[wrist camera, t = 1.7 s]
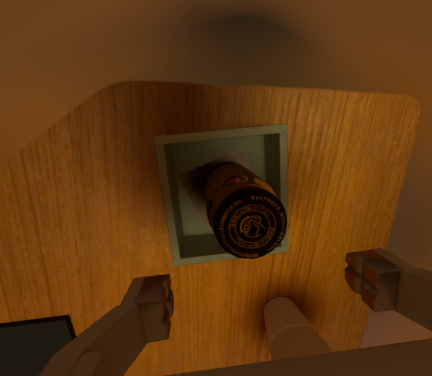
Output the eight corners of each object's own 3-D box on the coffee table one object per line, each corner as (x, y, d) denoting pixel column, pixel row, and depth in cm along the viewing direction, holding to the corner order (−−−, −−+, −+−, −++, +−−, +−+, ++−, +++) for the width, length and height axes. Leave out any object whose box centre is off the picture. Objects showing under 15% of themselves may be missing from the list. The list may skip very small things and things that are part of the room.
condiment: (263, 200, 26) (312, 250, 15) (202, 225, 27) (203, 294, 15) (243, 147, 24) (280, 155, 13) (178, 174, 25) (157, 207, 13)
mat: (-36, 328, 28) (-43, 333, 27) (68, 314, 29) (65, 319, 28) (8, 419, 32) (3, 426, 32) (98, 406, 33) (96, 412, 32)
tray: (163, 136, 24) (152, 136, 19) (269, 126, 25) (287, 123, 19) (179, 241, 27) (173, 266, 22) (272, 230, 28) (288, 252, 23)
